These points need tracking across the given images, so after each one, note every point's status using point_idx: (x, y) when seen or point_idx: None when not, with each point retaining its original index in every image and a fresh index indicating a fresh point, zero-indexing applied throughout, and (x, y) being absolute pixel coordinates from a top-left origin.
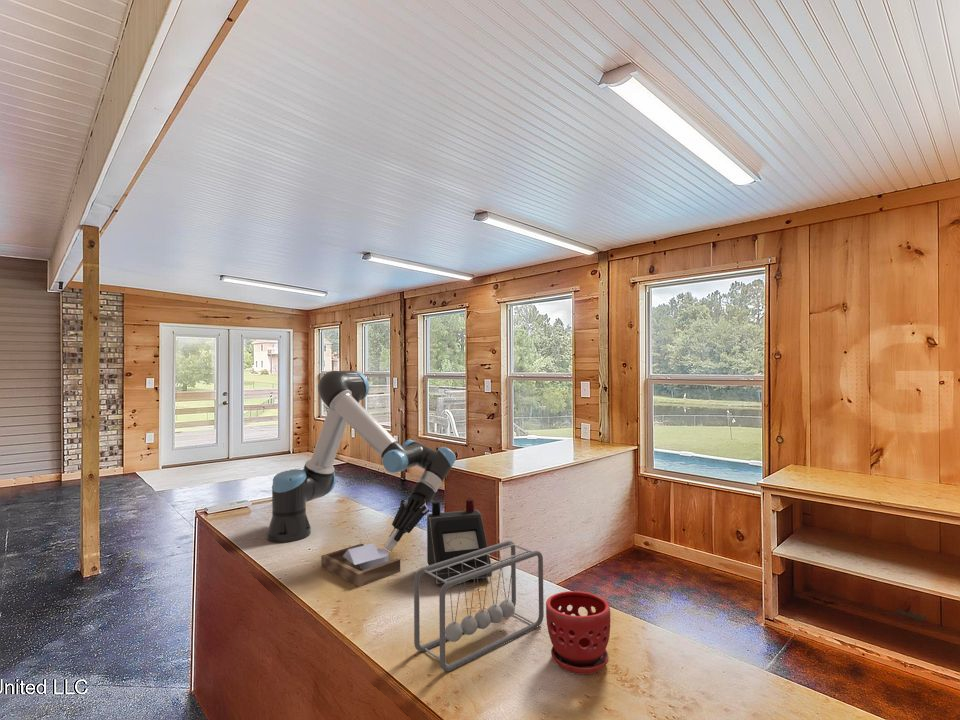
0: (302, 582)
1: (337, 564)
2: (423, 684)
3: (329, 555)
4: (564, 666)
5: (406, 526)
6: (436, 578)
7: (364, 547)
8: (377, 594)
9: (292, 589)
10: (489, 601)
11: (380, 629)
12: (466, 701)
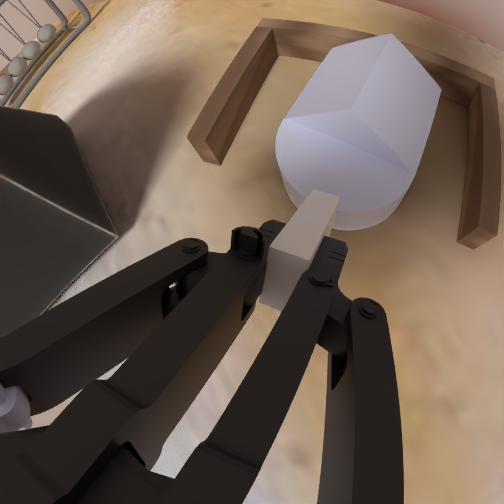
0: (422, 29)
1: None
2: None
3: (479, 86)
4: None
5: (174, 249)
6: (64, 122)
7: (362, 73)
8: (198, 45)
9: (404, 8)
10: None
11: (144, 9)
12: (55, 25)
